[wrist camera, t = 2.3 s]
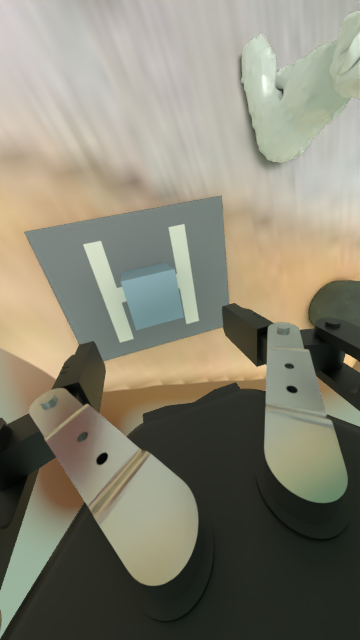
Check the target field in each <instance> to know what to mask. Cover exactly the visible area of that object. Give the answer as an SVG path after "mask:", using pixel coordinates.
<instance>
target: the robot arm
mask: <svg viewBox="0 0 360 640" xmlns="http://www.w3.org/2000/svg"><path fill="white" fill-rule="evenodd" d="M222 318H223V329H224V332H225V335H226V336H227V337H228V338H229V339H230V340H231V341H232V342H233V343H234V344H235V345H236V346H237V347H238V348H239V349H240V350H241V351H242V352H243V353H244V354H245V355H246V356H247V357H248V358H249V359H250V360H251V361H252V362H253V363H254V364H255V365H256V366H257V367H258V366H261V365H264V364H266V365H267V371H266V391H262V390H257V389H240V387H239V386H238V385H237V383H232V384H230V385H227V386H224V387H221V388H218V389H215V390H213V391H212V392H210V393H208V394H207V395H205V396H203V397H202V398H200V399H199V400H197V401H195V402H193V403H187V404H178V405H170V406H165V407H162V408H159V409H156V410H153V411H150V412H147V413H144V414H143V422H144V423H142V424H140V425H139V426H138V427H136V428H135V429H134V430H133V431H132V432H131V433H129V435H128V436H127V437H126V436H125V435H123V434H122V433H121V432H120V431H119V430H118V429H116V428H115V427H114V426H113V425H112V424H111V423H110V422H108V421H107V420H106V419H105V418H104V417H103V416H102V415H100V414H99V412H100V406H101V399H102V393H103V386H104V380H105V373H106V370H105V365H104V362H103V360H102V357H101V355H100V353H99V350H98V348H97V346H96V344H95V342H94V341H91V342H87V343H84V344H80V345H79V346H78V349H77V351H76V353H75V355H72V356H71V357H70V358H69V359H68V360H67V361H66V362H65V363H64V365H63V367H62V369H61V371H60V373H59V374H60V375H59V376H58V378H57V380H56V382H55V384H54V386H53V388H52V390H50V391H48V392H47V393H44V394H43V395H41V396H40V397H39V398H37V399H36V400H35V401H34V402H33V403H32V405H31V406H30V408H29V414H27V415H25V416H23V417H21V418H19V419H17V420H15V421H13V422H11V423H9V424H7V423H6V422H5V421H4V420H3V419H2V418H0V590H1V586H2V583H3V580H4V577H5V574H6V571H7V568H8V565H9V562H10V558H11V555H12V552H13V549H14V546H15V543H16V540H17V537H18V534H19V530H20V527H21V524H22V521H23V518H24V515H25V511H26V509H27V505H28V502H29V499H30V496H31V493H32V490H33V487H34V484H35V481H36V477H37V474H38V471H39V468H40V467H42V466H43V465H45V464H46V463H48V462H49V461H51V460H52V459H54V458H56V457H57V459H58V461H59V462H60V464H61V465H62V467H63V469H64V470H65V472H66V473H67V475H68V476H69V478H70V479H71V481H72V483H73V484H74V486H75V487H76V489H77V490H78V492H79V493H80V495H81V496H82V498H83V500H84V501H85V502H84V503H83V505H82V506H81V508H80V510H79V511H78V513H77V515H76V516H75V518H74V520H73V521H72V523H71V524H70V526H69V528H68V529H67V531H66V532H65V534H64V536H63V537H62V539H61V540H60V542H59V544H58V545H57V547H56V549H55V550H54V552H53V553H52V555H51V557H50V558H49V560H48V561H47V563H46V565H45V566H44V568H43V570H42V571H41V573H40V574H39V576H38V578H37V579H36V581H35V583H34V584H33V586H32V587H31V589H30V591H29V592H28V594H27V595H26V597H25V599H24V600H23V602H22V604H21V606H20V607H19V608H18V610H17V612H16V613H15V615H14V617H13V618H12V620H11V621H10V623H9V625H8V627H7V628H6V630H5V632H4V633H3V635H2V637H1V639H0V640H360V427H359V426H356V425H353V424H351V423H348V422H346V421H343V420H340V419H338V418H335V417H332V416H330V415H327V414H326V412H325V408H324V405H323V401H322V397H321V393H320V389H319V385H318V382H317V378H316V376H317V377H318V378H319V379H320V380H322V381H323V382H324V383H325V384H327V385H328V386H329V387H330V388H332V389H333V390H334V391H335V392H337V393H338V394H339V395H340V396H342V397H343V398H344V399H345V400H347V401H348V402H349V403H350V404H351V405H353V406H354V407H355V408H356V409H358V410H359V411H360V373H359V372H357V371H356V370H354V369H353V368H351V367H350V366H348V365H346V364H345V363H343V361H344V357H345V353H346V354H348V355H350V356H352V357H353V358H355V359H357V360H358V361H359V362H360V327H359V326H356V325H354V324H352V323H349V322H347V321H344V320H341V319H337V318H321V319H318V320H316V321H315V326H314V329H305V330H299V328H298V327H297V326H295V325H293V324H290V323H283V322H282V323H273V322H271V321H269V320H267V319H266V318H264V317H261V315H259V314H257V313H256V312H254V311H252V310H249V309H245V308H242V307H240V306H238V305H237V304H235V303H233V304H229V305H225V306H223V307H222ZM1 621H2V617H1V611H0V630H1Z"/></svg>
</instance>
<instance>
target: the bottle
mask: <svg viewBox="0 0 360 640" xmlns="http://www.w3.org/2000/svg"><path fill="white" fill-rule="evenodd" d="M309 318H310V320H311V322H312V323H313V324H314V325H315V321H316V320H318V319H321V318H337V319H341V320H344V321H347V322H349V323H352V324H354V325H356V326H359V327H360V281H336V282H332V283H330V284H327V285H326V286H324V287H323V288H322V289H321V290H320V291H319V292H318V293H317V294H316V295H315V297H314V299H313V300H312V302H311V305H310V309H309Z"/></svg>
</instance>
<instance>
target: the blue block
mask: <svg viewBox="0 0 360 640" xmlns="http://www.w3.org/2000/svg"><path fill="white" fill-rule="evenodd" d="M121 285H122V288H123V291H124V294H125V297H126V300H127V303H128V306H129V310H130V313H131V316H132V319H133V322H134V325H135V328H136V330H139V329H143V328H147V327H150V326H154V325H158V324H161V323H165V322H169V321H172V320H176V319H180V318H183V317H184V315H183V310H182V305H181V299H180V294H179V289H178V283H177V278H176V273H175V269H174V268H173V267H171V266H170V265H168V264H167V263H166V262H164V263H160V264H156V265H151V266H147V267H142V268H138V269H134V270H129V271H125V272H122V276H121Z"/></svg>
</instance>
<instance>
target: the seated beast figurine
mask: <svg viewBox="0 0 360 640" xmlns="http://www.w3.org/2000/svg"><path fill="white" fill-rule="evenodd" d="M275 60H276V55H275V53H274V52H273V51H272V49H271V46H270V45H269V44H268V41H267V39H266V37H265V36H264V35H263V34H262V33H261V34H259V35H258V36H257V37H256V38H255V37H254V38H252V39H251V40H250V41H249V42H248V44H247V45H246V46H245V48H244V49H243V52H242V64H241V65H242V78H241V83H244V90H245V92H246V97H247V101H248V106H249V114H250V115H251V117H252V127H253V128H254V129H255V133H256V139H257V145H258V146H259V150H260V151H261V153H263V154H264V156H265V157H266V158H267V160H271V161H273V162H278V163H279V164H280V163H284V162H286V161H288V160H291V159H292V158H295V157H299V156H300V154H302V153H303V152H304V150H306V149H307V148H308V146H309V144H310V142H311V140H312V139H313V138H314V137H315V136H317V135H318V134H319V132H320V130H321V129H323V128H324V125H325V124H329V123H330V122H331V121H332V120H333V118H334V117H336V116H337V115H338V114H339V113H340V112H342V110H343V109H344V108H345V107H346V104H347V103H348V101H349V100H350V98H355V99H360V10H359V11H357V12H355V13H354V12H351V13H350V14H349V15H348V16H347V17H346V18H345V19H344V20H343V22H342V25H341V29H340V35H339V37H338V39H337V40H336V41H335V42H332V43H331V44H329V43H325V44H323V45H321V46H319V47H318V48H316V49H315V50H314V51H311V52H310V53H309V54H308V55H307V56H305V57H304V58H302V59H298V60H297V61H296V62H295V64H294V65H292V64H289V65H287V66H286V67H282V68H281V69H280V70H279V71H276V62H275Z"/></svg>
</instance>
